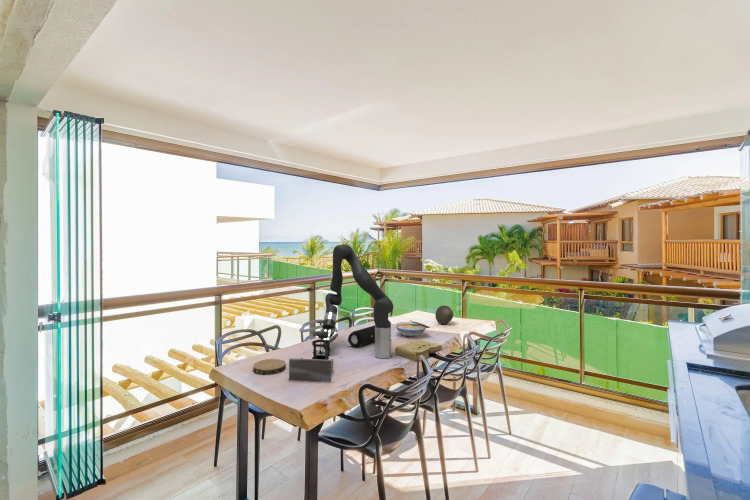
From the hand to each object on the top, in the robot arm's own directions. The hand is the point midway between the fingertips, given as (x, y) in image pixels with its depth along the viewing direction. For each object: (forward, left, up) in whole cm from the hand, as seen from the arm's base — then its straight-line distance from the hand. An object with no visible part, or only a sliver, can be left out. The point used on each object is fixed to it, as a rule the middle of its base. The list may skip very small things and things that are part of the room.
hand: (325, 348), depth 203 cm
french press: (-2, +10, -6) cm, 12 cm away
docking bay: (-5, +27, -5) cm, 28 cm away
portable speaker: (-15, -34, -6) cm, 37 cm away
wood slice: (+20, +25, -6) cm, 33 cm away
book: (-51, -22, -6) cm, 56 cm away
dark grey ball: (-61, -104, -6) cm, 120 cm away
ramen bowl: (-40, -62, -6) cm, 74 cm away
